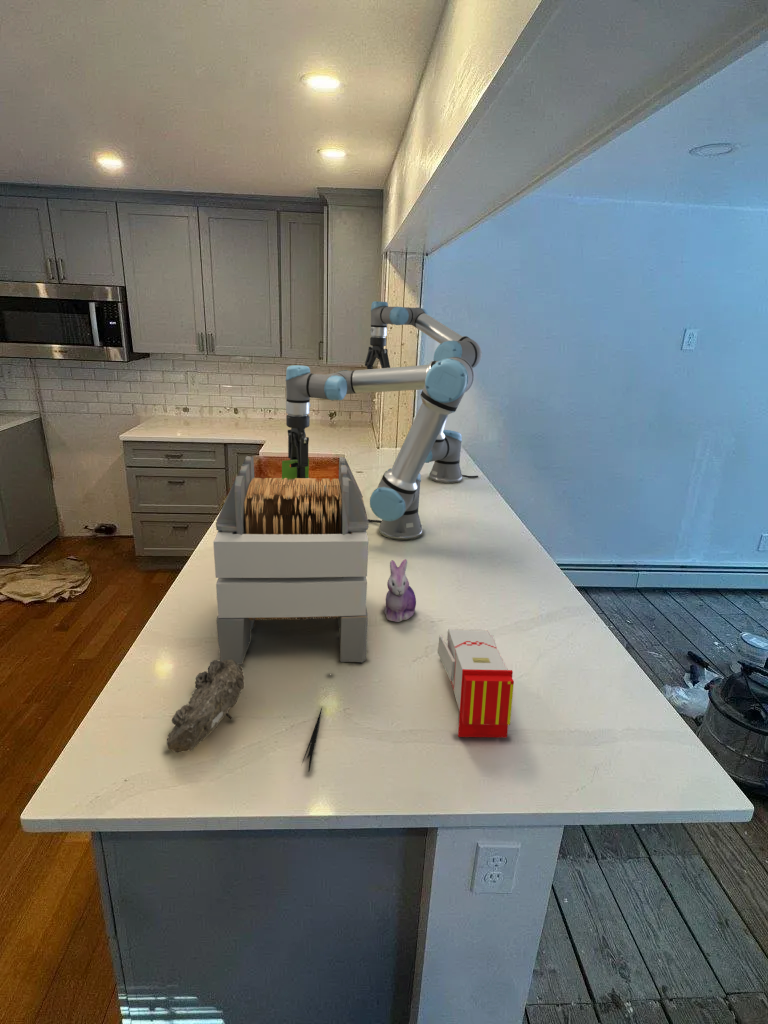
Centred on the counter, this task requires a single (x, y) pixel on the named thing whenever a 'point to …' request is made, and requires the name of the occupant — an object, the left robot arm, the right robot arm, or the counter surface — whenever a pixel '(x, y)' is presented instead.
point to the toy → (478, 682)
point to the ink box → (292, 470)
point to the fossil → (206, 705)
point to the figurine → (399, 594)
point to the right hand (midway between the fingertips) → (376, 383)
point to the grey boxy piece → (291, 558)
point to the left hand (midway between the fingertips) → (298, 482)
